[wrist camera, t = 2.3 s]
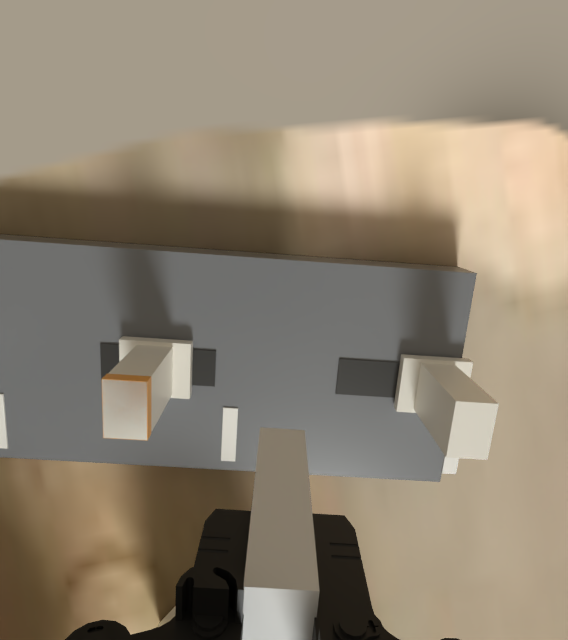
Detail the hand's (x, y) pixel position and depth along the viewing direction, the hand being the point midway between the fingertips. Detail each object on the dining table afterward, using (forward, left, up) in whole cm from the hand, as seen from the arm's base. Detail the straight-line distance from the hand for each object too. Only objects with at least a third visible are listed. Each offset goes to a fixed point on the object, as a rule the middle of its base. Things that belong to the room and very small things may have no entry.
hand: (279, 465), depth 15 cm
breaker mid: (-6, 0, -9) cm, 11 cm away
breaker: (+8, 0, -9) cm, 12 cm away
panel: (-6, 0, -12) cm, 13 cm away
